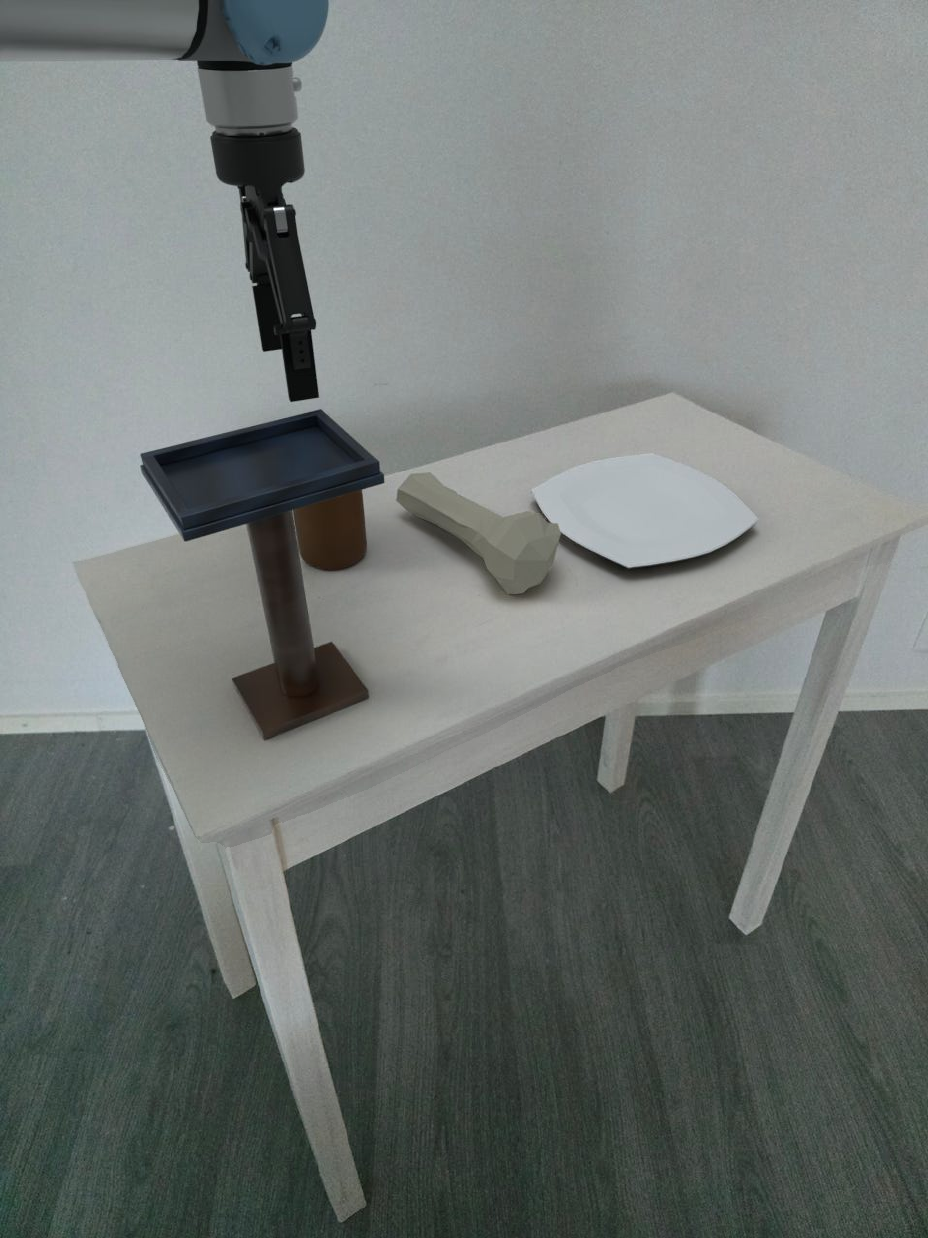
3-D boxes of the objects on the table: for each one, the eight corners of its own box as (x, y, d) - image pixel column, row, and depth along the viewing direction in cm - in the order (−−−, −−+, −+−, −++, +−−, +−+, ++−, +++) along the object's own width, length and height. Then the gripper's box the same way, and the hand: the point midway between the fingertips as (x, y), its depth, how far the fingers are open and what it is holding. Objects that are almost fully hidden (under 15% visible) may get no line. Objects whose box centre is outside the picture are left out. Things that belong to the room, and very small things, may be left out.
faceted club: (506, 612, 83) (369, 520, 100) (565, 599, 89) (425, 514, 105) (525, 530, 80) (379, 448, 96) (585, 522, 85) (437, 446, 101)
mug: (266, 535, 97) (253, 462, 91) (321, 512, 101) (311, 441, 95) (325, 580, 90) (314, 504, 84) (381, 554, 94) (375, 479, 88)
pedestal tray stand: (242, 763, 69) (178, 519, 55) (201, 686, 77) (136, 452, 62) (401, 697, 75) (383, 461, 61) (349, 631, 83) (322, 406, 68)
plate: (505, 500, 102) (505, 486, 101) (652, 455, 111) (655, 441, 110) (622, 598, 87) (624, 582, 85) (783, 536, 96) (787, 522, 94)
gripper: (335, 148, 62) (359, 416, 75) (270, 105, 80) (299, 326, 93) (233, 155, 60) (276, 429, 73) (190, 110, 78) (231, 335, 91)
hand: (289, 372), depth 83 cm, fingers open, 13 cm apart
